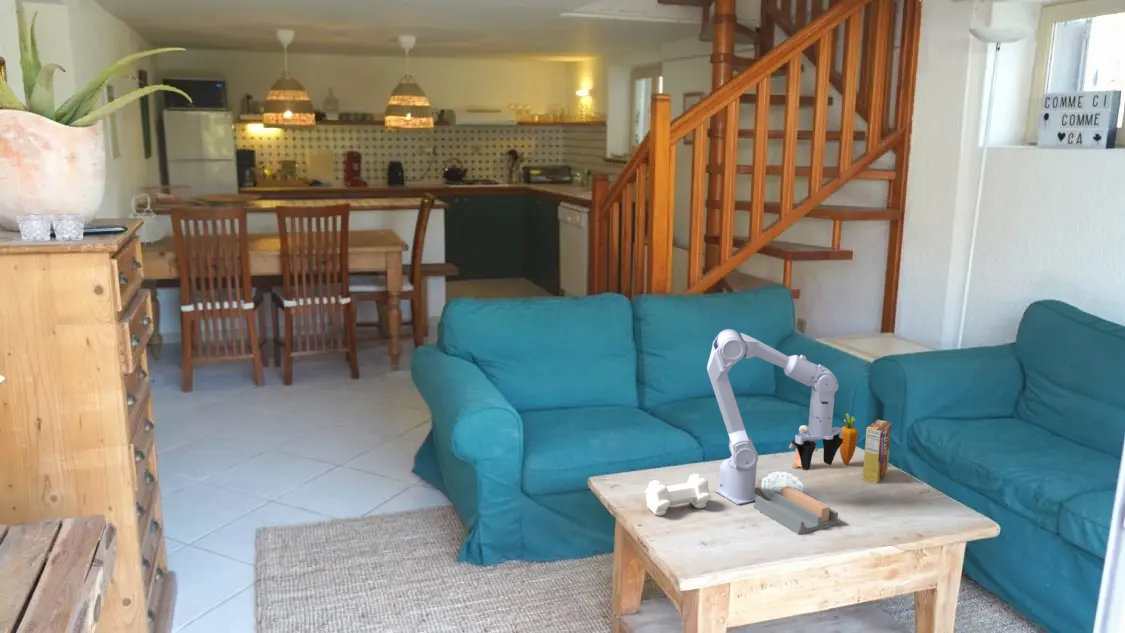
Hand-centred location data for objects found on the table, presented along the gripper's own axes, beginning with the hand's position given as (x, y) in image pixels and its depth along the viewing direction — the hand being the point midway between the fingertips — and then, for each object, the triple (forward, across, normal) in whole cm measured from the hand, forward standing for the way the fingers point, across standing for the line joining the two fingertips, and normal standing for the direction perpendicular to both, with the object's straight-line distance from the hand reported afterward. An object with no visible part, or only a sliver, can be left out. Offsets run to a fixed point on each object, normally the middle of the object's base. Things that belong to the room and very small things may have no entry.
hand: (816, 465), depth 219 cm
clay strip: (+8, -8, -5) cm, 13 cm away
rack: (+9, -11, -5) cm, 15 cm away
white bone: (+10, -35, +12) cm, 38 cm away
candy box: (+10, +27, +4) cm, 29 cm away
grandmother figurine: (+10, +13, +18) cm, 24 cm away
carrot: (+10, +26, +14) cm, 31 cm away
